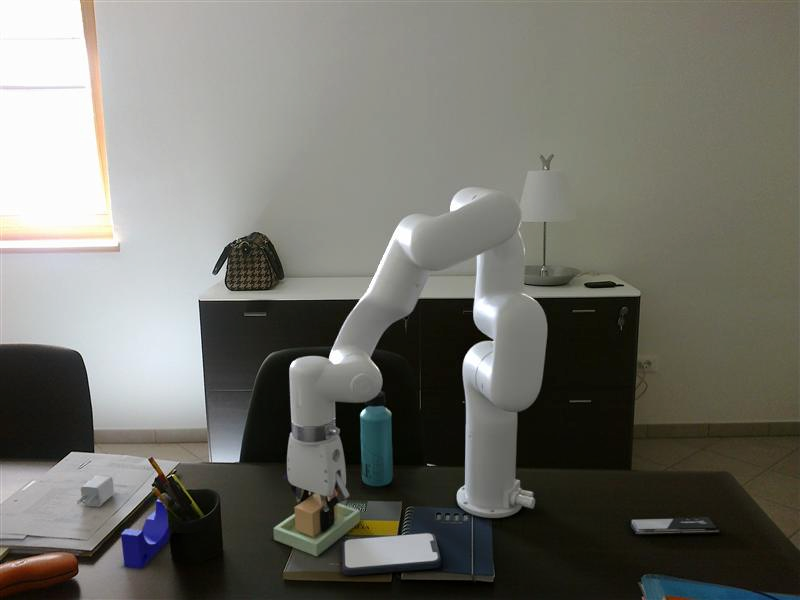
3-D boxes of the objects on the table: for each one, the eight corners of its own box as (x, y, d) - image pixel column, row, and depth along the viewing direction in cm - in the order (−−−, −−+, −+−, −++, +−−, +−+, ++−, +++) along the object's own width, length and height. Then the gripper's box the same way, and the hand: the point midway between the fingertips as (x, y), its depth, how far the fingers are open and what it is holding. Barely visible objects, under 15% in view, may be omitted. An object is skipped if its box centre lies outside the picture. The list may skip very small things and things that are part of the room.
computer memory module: (636, 531, 118) (628, 518, 122) (636, 536, 118) (628, 523, 122) (720, 529, 119) (709, 516, 122) (719, 534, 119) (709, 521, 123)
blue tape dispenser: (155, 526, 123) (152, 496, 122) (178, 528, 122) (175, 498, 121) (116, 565, 112) (112, 532, 110) (141, 568, 111) (137, 535, 110)
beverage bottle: (399, 483, 138) (398, 390, 134) (381, 497, 133) (379, 401, 128) (373, 475, 141) (371, 384, 137) (354, 488, 136) (351, 394, 132)
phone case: (343, 579, 108) (442, 570, 110) (342, 570, 108) (442, 561, 109) (342, 547, 117) (434, 539, 118) (341, 538, 116) (434, 531, 118)
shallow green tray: (360, 521, 124) (360, 510, 124) (316, 556, 114) (316, 544, 113) (319, 507, 129) (318, 496, 129) (273, 539, 119) (273, 528, 118)
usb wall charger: (114, 495, 134) (112, 477, 133) (93, 513, 128) (90, 494, 127) (96, 493, 135) (93, 475, 134) (74, 512, 128) (71, 492, 127)
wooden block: (337, 518, 123) (337, 496, 122) (313, 537, 117) (312, 513, 116) (320, 512, 125) (319, 490, 124) (295, 530, 119) (294, 507, 118)
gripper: (366, 431, 116) (367, 527, 120) (291, 411, 124) (294, 502, 128) (339, 447, 109) (342, 548, 114) (262, 425, 118) (267, 520, 122)
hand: (316, 522), depth 121 cm, fingers closed on wooden block, 4 cm apart
